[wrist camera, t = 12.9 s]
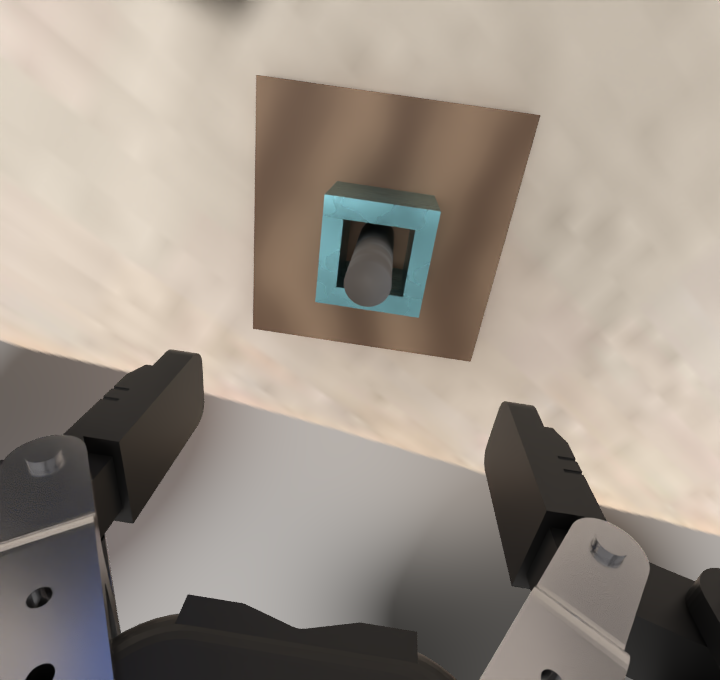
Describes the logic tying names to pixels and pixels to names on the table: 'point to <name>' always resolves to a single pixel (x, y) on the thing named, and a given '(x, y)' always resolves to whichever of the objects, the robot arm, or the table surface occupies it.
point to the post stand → (373, 241)
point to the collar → (383, 210)
